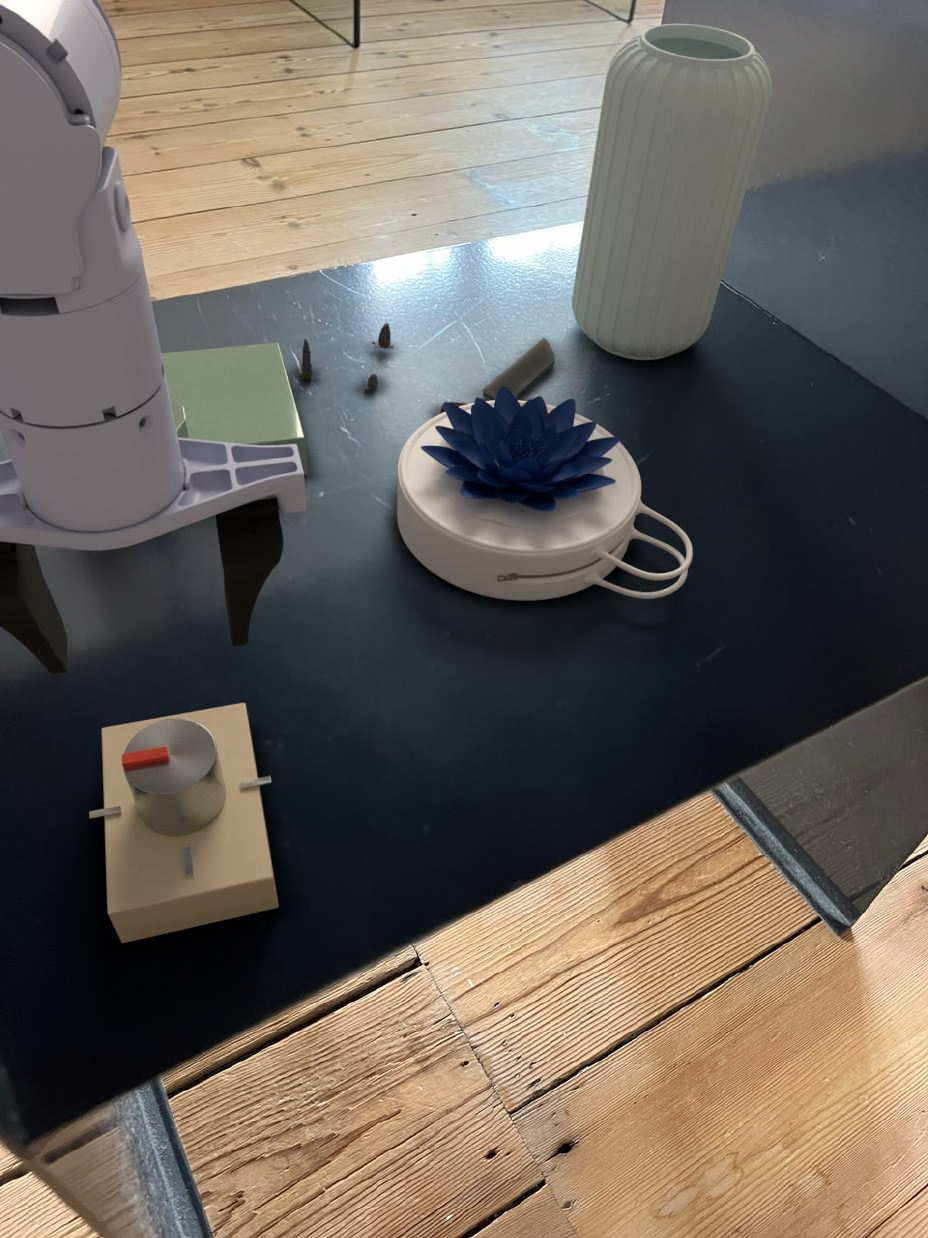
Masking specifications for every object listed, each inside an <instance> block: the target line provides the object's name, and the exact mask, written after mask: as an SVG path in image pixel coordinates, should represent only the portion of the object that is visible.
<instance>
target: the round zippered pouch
mask: <svg viewBox="0 0 928 1238" xmlns="http://www.w3.org/2000/svg"><path fill="white" fill-rule="evenodd" d="M449 402H450V401H444V402H443V405H444V409H445V412H443V413H441V414H440V413H439V414H437V415H435V416H434V417H432V418H431V419H429V420H427V421H426V422H424V423H423V424H422V425H421V426H420V427H418V428H417V429H416V430H415V431H414V432H413V433H412V434H411V435H410V436H409V438H407V440H406V441H405V443H404V445H403V446H402V449H401V451H400V454H399V457H398V462H397V484H396V485H397V487H396V488H397V489H396V490H397V491H396V493H397V494H396V495H397V496H396V497H397V500H396V519H397V520H396V521H397V525H398V530H399V533H400V535H401V538H402V540H403V541H404V543H405V545H406V547H407V548H408V550H409V551H410V553H411V554H412V555H413V556H414V557H415V559H417V560H418V561H419V563H421V565H422V566H424V567H425V568H426V569H428V570H429V571H430V572H431V573H433V574H434V575H435V576H438V577H439V578H441V579H442V580H444V581H445V582H447V583H449V584H451V585H453V586H455V587H457V588H460V589H462V590H464V591H468V592H471V593H474V594H477V595H480V596H483V597H489V598H493V599H498V600H506V601H507V600H508V601H521V602H522V601H523V602H525V601H526V602H527V601H528V602H529V601H530V602H531V601H542V600H549V599H550V600H551V599H556V598H562V597H564V596H565V597H566V596H568V595H572V594H576V593H578V592H580V591H583V590H585V589H587V588H589V587H591V586H593V585H597V586H600V587H603V588H605V589H607V590H611V591H613V592H615V593H619V594H621V595H624V596H627V597H631V598H635V599H642V600H653V599H658V598H663V597H665V596H668V595H671V594H673V593H674V592H676V591H677V590H679V589H680V588H681V587H682V586H683V585H684V584H685V582H686V580H687V577H688V572H689V571H688V570H689V567H690V565H691V564H692V561H693V556H694V551H693V544H692V541H691V540H690V538H689V535H688V534H687V533H686V532H685V531H684V530H683V529H682V528H681V527H679V525H677V524H676V523H675V522H674V521H671V520H670V519H668V518H667V517H665V516H663V515H662V514H660V513H658V512H657V511H655V510H652V509H651V508H650V507H648V506H646V505H645V504H644V503H643V502H642V499H641V497H642V479H641V475H640V472H639V470H638V467H637V465H636V462H635V460H634V458H633V457H632V455H631V454H630V453H629V451H628V449H626V448H625V446H624V445H623V444H622V443H621V442H620V441H621V437H619V436H614V434H612V433H610V432H609V431H608V430H606V429H605V428H604V427H603V426H600V425H599V424H598V423H597V422H596V421H593V420H590V419H589V418H586V417H584V416H582V415H580V414H578V413H576V412H577V411H576V410H577V403H576V400H575V399H574V398H567V399H566V400H564V401H562V402H561V403H560V404H558V405H557V406H554V405H550V404H547V403H546V402H545V399H544V398H543V396H540V395H538V396H535V397H534V398H533V399H532V398H531V399H529V400H519V399H518V398H517V399H516V398H515V396H514V395H513V394H512V393H511V391H510V390H509V389H508V388H506V387H505V386H502V387H500V388H499V390H498V392H497V395H496V399H495V401H492V400H484V398H480V397H478V396H477V397H475V399H474V402H471V403H466V404H467V405H463V406H460V407H457V406H456V405H453V404H451V403H449ZM639 514H645V515H648V516H649V517H652V518H654V519H656V520H657V521H659V522H661V523H663V524H664V525H665V526H667V527H669V528H670V529H671V530H672V531H674V532H675V534H677V535H678V537H680V539H681V540H682V542H683V543H684V547H685V554H686V555H685V557H684V555H683V554H681V552H679V550H677V549H676V548H675V547H673V546H671V545H670V544H667V543H665V542H663V541H661V540H658V539H656V538H654V537H653V536H650V535H647V534H645V533H642V532H641V531H639V530H637V529H636V528H635V526H634V523H635V520H636V516H637V515H639ZM634 539H635V540H640V541H643V542H645V543H648V544H651V545H653V546H655V547H657V548H659V549H662V550H664V551H666V552H667V553H668V554H670V555H672V556H673V557H674V558H675V559H676V560H677V561H678V563H679V565H680V566H679V567H678V568H677V569H674V570H672V571H669V572H665V573H654V572H648V571H644V570H642V569H638V568H636V567H634V566H632V565H630V564H628V563H625V562H624V561H622V560H623V558H624V555H625V554H626V552H627V550H628V547H629V544H630V541H632V540H634ZM616 567H618V568H620V569H621V570H623V571H625V572H627V573H629V574H631V575H633V576H636V577H639V578H642V579H646V580H648V581H649V580H650V581H667V580H670V579H674V578H677V577H678V576H679V578H678V580H677V581H676V582H674V584H672V585H671V586H669V587H667V588H665V589H661V590H656V591H651V592H644V591H643V592H642V591H636V590H631V589H627V588H625V587H621V586H618V585H616V584H613V583H611V582H608V581H606V580H604V578H606V577H607V576H608V575H610V573H611V572H612V571H614V570H615V569H616Z"/></svg>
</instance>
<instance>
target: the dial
mask: <svg viewBox="0 0 928 1238" xmlns="http://www.w3.org/2000/svg"><path fill="white" fill-rule="evenodd" d="M122 765H123V770H124V774H125V776H126V779H127V782H128V785H129V787H130V790H131V793H132V796H133V799H134V801H135V804H136V807H137V810H138V812H139V815H140V817H141V819H142V820H143V822H144V823H145V824H146V825H147V826H148V827H149V828H151V829H152V830H154V831H156V832H158V833H161V834H165V835H173V836H174V835H185V834H189V833H193V832H195V831H198V830H200V829H202V828H203V827H205V826H207V825H208V824H209V823H210V822H212V821H213V820H214V819H215V818H216V817H217V815H218V814H219V813H220V811H221V809H222V807H223V805H224V802H225V799H226V787H225V782H224V778H223V773H222V769H221V764H220V760H219V756H218V751H217V747H216V742H215V740H214V738H213V736H212V734H211V733H210V732H209V731H208V730H207V729H206V728H205V727H204V726H202V725H201V724H199V723H197V722H194V721H191V720H187V719H166V720H162V721H159V722H156V723H153V724H151V725H149V726H147V727H145V728H144V729H142V730H141V731H140V732H138V733H137V734H136V735H135V736H134V737H133V738H132V739H131V741H130V742H129V744H128V745H127V747H126V749H125V752H124V754H122Z"/></svg>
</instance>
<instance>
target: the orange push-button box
mask: <svg viewBox="0 0 928 1238" xmlns="http://www.w3.org/2000/svg"><path fill="white" fill-rule="evenodd" d="M161 354H162V359H163V364H164V369H165V374H166V380H167V385H168V390H169V395H170V400H171V405H172V411H173V416H174V421H175V426H176V431H177V436H178V437H179V438H188V439H198V440H208V441H218V442H227V443H237V444H247V445H287V444H296V445H297V447H298V451H299V455H300V459H301V464H302V468H303V472H304V476H308V462H307V452H306V438H305V434H304V430H303V427H302V424H301V423H302V422H301V419H300V415H299V413H298V408H297V405H296V402H295V398H294V394H293V390H292V387H291V383H290V379H289V375H288V373H287V369H286V364H285V362H284V359H283V358H284V357H283V355H282V350H281V347H280V344H279V342H268V343H258V344H257V343H256V344H247V345H236V346H235V345H234V346H225V347H215V348H203V349H193V350H181V351H171V352H161Z"/></svg>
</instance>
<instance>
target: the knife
mask: <svg viewBox="0 0 928 1238" xmlns="http://www.w3.org/2000/svg"><path fill="white" fill-rule="evenodd" d="M555 361H556V356H555V352H554V350H553V349H552V346H551V344H550V342H549V341H548V340H547V338H545V337H543V338H542V339H540V340H539V341H538V342H537V343H535V345H533V346H532V347H530V349H528V350H527V351H526V352H525V353H524V354H523V355H521V356H520V357H519V358H518V359H517V360H516V361H514V362H513V363H512V364H511V365H510V366H508V367H507V368H506V369H505V370H503V371H502V372H501V373H500V374H499V375H498V376H496V377H495V378H494V379H493V380H492V381H491V382H490V383H489V384H487V385H486V386H485V387H484V388H482V389H481V391H482V396H483V397H484V398H486V399H488V400H489V401H495V399H496V395H497V392H498V390H499V388H500V387H502V386H505V387H506V388H508V389H509V390H510V391H511V393H512V394H513V395H514V396H515V398H516V399H517V400H518V398H519V397H520V396H521V395H522V394H523V393H524V392H526V390H528V389H529V388H530V387H531V386H532V385H533V384H535V382H536V381H538V380H540V378H541V377H542V376H543V375H544V374H546V373H547V372H548V371H549V370H550V369H551V368H552V367H553V366H554V365H555ZM448 402H449V403H451V404H453V405H456V406H457V407H460V406H463V405H467V404H468V403H465V402H457V401H448ZM443 412H445V409H444V404H442V405H441V408H440V411H439V414H441V413H443Z"/></svg>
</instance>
